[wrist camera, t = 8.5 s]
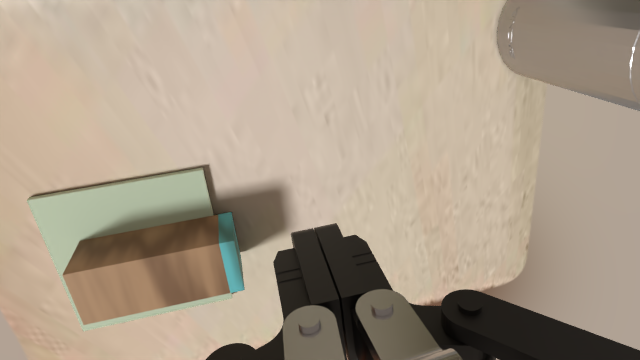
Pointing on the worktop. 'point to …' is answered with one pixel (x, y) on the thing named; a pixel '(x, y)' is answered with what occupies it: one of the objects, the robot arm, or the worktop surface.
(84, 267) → the walnut block
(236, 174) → the worktop surface
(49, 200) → the sage mat
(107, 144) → the worktop surface
